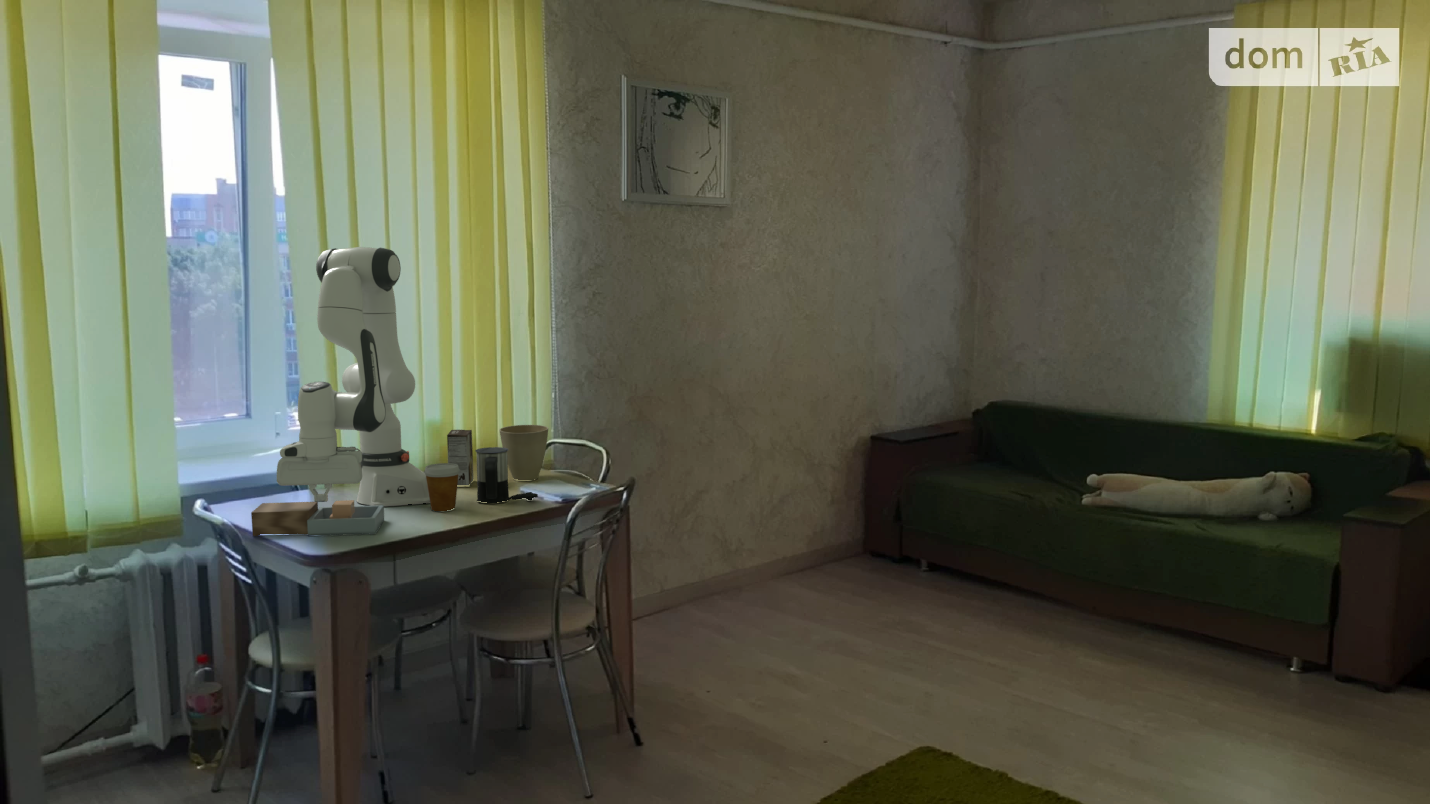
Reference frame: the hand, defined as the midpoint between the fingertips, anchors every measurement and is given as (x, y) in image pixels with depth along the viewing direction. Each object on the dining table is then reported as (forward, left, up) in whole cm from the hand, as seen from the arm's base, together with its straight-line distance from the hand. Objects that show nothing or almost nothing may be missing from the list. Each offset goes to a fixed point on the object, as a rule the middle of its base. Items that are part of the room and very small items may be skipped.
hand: (321, 501), depth 267 cm
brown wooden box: (+9, 0, -7) cm, 11 cm away
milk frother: (-45, -24, -7) cm, 51 cm away
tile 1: (-5, 0, -4) cm, 6 cm away
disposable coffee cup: (-28, -17, -7) cm, 34 cm away
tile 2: (-4, 0, -4) cm, 6 cm away
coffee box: (-30, -49, -7) cm, 58 cm away
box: (-6, 0, -7) cm, 9 cm away
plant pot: (-49, -54, -7) cm, 73 cm away
